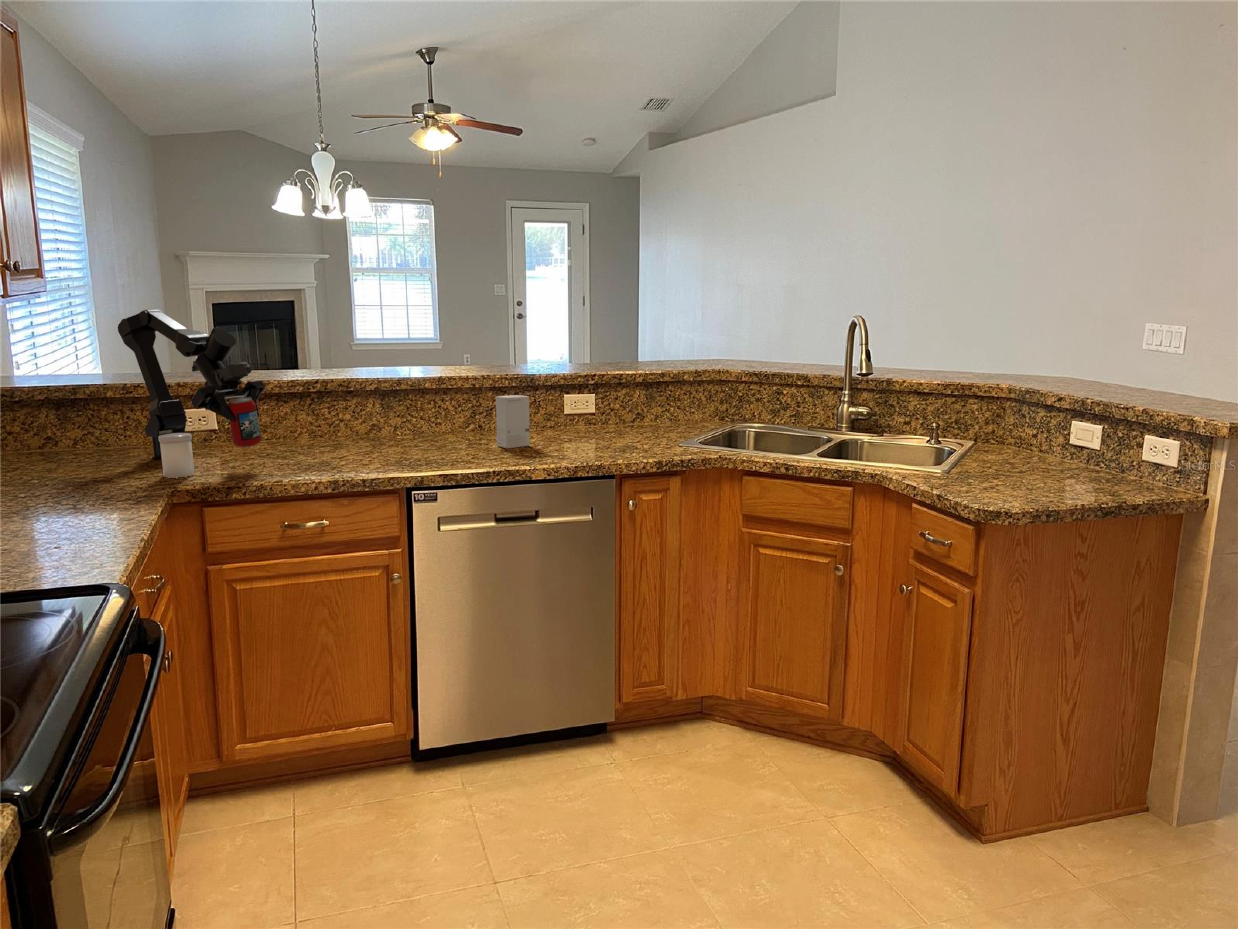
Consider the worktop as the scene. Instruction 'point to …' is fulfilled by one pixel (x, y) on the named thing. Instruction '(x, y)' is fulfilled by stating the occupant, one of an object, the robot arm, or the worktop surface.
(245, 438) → the beverage can
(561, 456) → the worktop surface
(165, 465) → the sugar jar
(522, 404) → the skincare box
